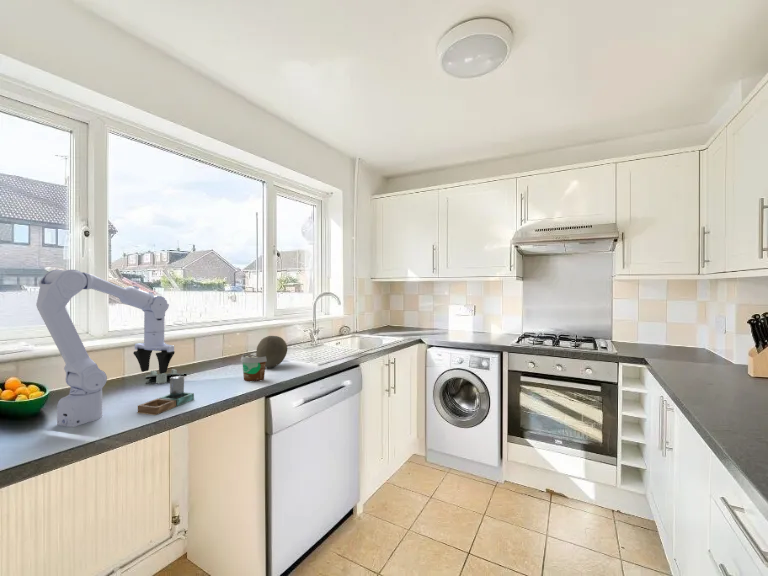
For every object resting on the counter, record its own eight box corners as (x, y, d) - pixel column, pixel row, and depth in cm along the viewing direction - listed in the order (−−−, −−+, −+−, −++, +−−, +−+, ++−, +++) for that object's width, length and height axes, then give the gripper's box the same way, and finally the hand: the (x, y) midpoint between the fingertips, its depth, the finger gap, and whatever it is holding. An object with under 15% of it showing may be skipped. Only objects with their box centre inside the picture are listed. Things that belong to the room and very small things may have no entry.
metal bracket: (182, 367, 145) (139, 370, 140) (182, 382, 144) (138, 386, 138) (187, 370, 158) (147, 372, 153) (186, 383, 157) (146, 386, 151)
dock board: (155, 418, 106) (155, 408, 106) (136, 415, 108) (136, 406, 108) (194, 401, 121) (194, 393, 121) (177, 399, 123) (177, 391, 123)
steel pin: (176, 404, 115) (177, 379, 115) (166, 402, 116) (167, 378, 116) (186, 400, 119) (186, 376, 119) (176, 399, 120) (176, 375, 120)
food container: (233, 379, 149) (234, 355, 149) (245, 376, 154) (246, 353, 154) (255, 383, 143) (255, 359, 143) (266, 380, 149) (266, 356, 148)
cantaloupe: (278, 371, 164) (279, 338, 164) (250, 369, 166) (250, 337, 166) (291, 364, 178) (291, 334, 178) (265, 363, 180) (265, 333, 180)
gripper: (181, 331, 121) (181, 370, 121) (147, 329, 125) (147, 367, 125) (164, 333, 114) (163, 375, 115) (128, 331, 118) (128, 372, 118)
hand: (154, 372), depth 119 cm, fingers open, 7 cm apart
